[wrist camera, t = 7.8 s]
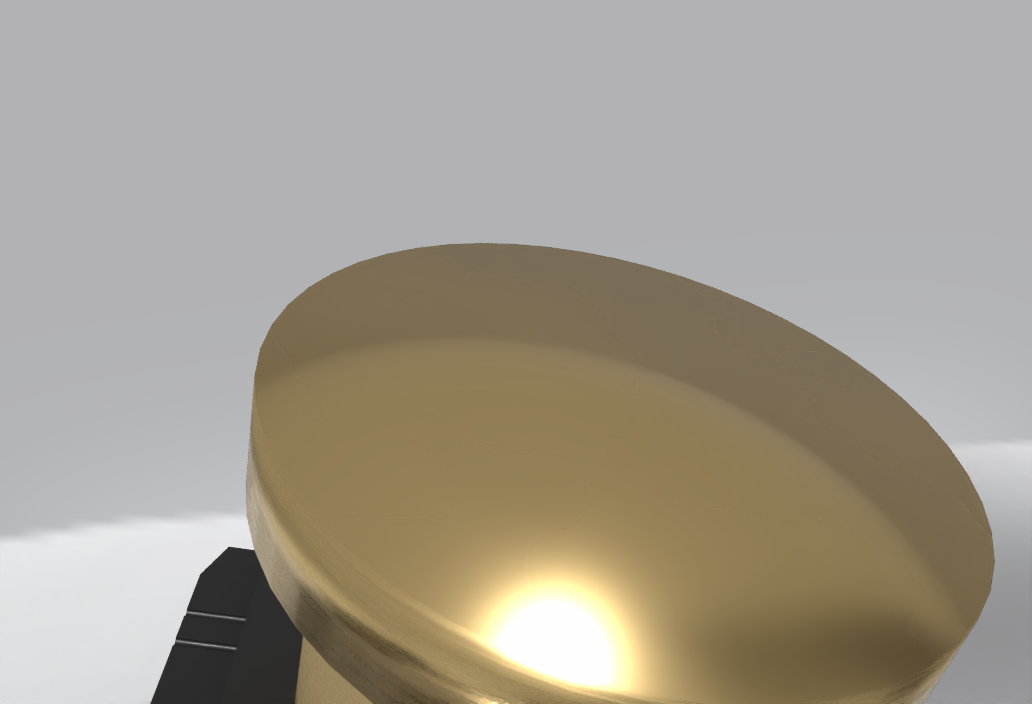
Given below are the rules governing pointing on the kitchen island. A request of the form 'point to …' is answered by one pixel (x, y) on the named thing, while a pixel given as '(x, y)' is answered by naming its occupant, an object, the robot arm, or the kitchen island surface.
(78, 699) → the kitchen island surface
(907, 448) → the brass headed pin
